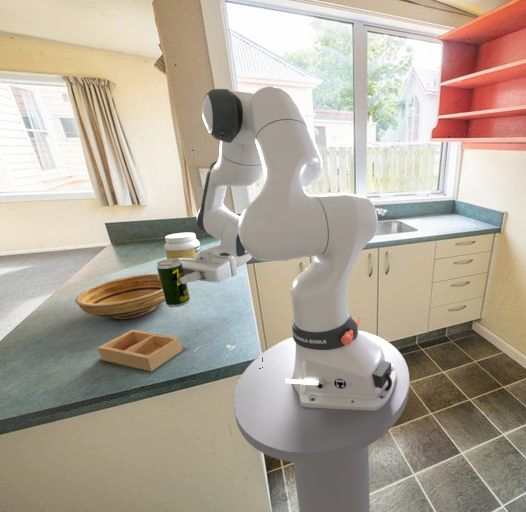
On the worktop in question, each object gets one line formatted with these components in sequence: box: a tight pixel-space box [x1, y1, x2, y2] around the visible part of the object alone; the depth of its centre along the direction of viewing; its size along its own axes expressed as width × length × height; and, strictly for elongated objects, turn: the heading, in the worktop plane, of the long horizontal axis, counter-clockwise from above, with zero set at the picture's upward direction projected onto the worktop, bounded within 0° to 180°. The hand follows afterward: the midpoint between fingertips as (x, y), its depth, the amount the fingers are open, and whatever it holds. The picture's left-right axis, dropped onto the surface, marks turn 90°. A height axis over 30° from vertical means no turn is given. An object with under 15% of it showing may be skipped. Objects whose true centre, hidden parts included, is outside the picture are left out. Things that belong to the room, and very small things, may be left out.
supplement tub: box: [163, 232, 202, 259], centre depth 123 cm, size 12×12×17 cm
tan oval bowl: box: [74, 273, 166, 320], centre depth 94 cm, size 30×24×8 cm
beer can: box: [156, 258, 191, 308], centre depth 78 cm, size 5×5×12 cm
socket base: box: [97, 329, 183, 372], centre depth 73 cm, size 15×8×4 cm, turn 75°
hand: (169, 279), depth 77 cm, fingers closed on beer can, 5 cm apart
